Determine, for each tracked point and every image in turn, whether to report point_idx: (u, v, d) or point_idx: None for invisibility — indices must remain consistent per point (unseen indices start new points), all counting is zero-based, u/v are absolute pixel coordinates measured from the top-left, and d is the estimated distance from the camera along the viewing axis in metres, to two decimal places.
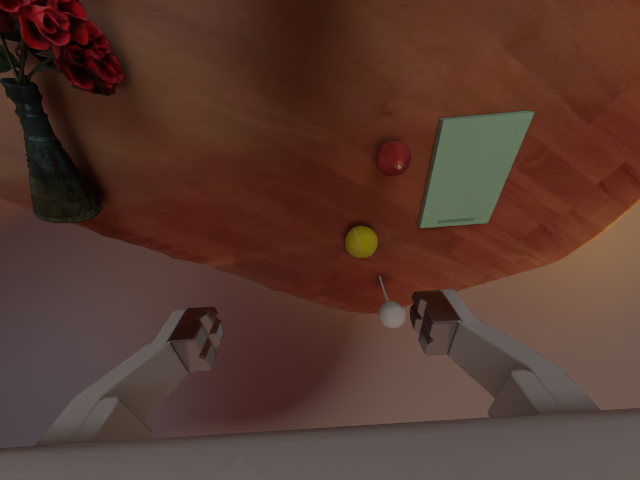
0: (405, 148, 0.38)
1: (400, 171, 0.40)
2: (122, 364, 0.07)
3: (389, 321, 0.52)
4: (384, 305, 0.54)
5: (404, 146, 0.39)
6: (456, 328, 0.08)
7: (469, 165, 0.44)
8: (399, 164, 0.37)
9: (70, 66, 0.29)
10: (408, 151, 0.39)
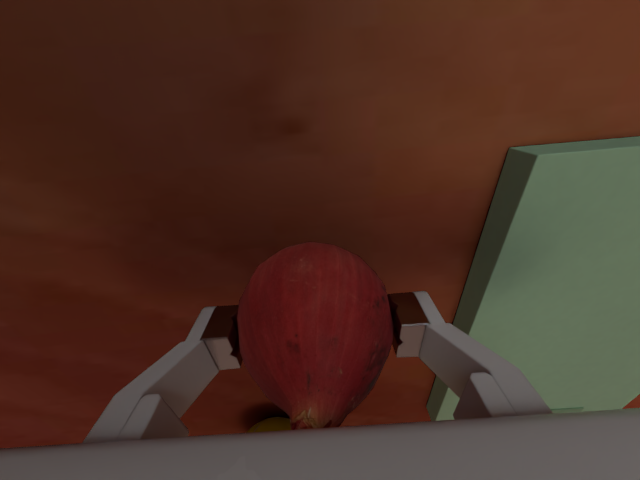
0: (352, 310, 0.07)
1: None
2: (158, 361, 0.07)
3: None
4: None
5: (350, 294, 0.07)
6: (424, 330, 0.08)
7: (605, 304, 0.13)
8: None
9: None
10: (374, 317, 0.07)
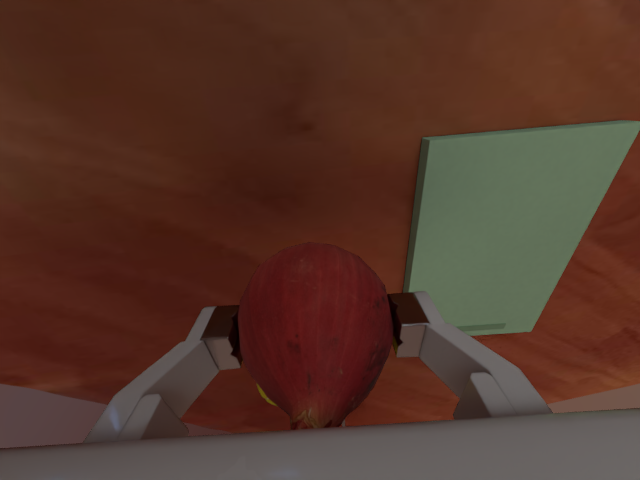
0: (352, 310, 0.07)
1: None
2: (159, 361, 0.07)
3: None
4: None
5: (350, 294, 0.07)
6: (424, 330, 0.08)
7: (493, 233, 0.21)
8: None
9: None
10: (374, 317, 0.07)
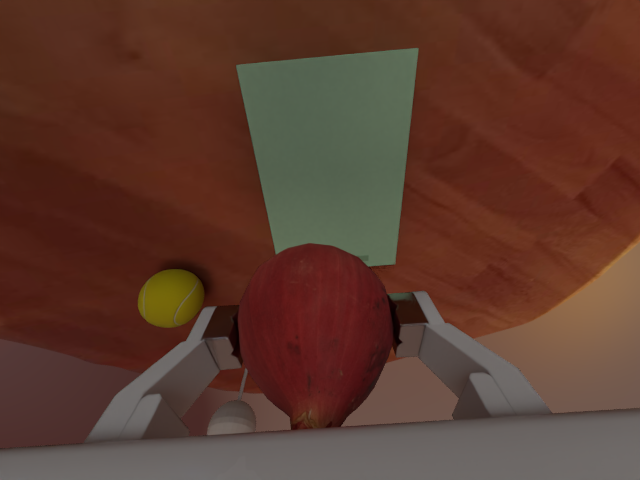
0: (352, 311, 0.07)
1: None
2: (159, 362, 0.07)
3: None
4: (217, 412, 0.30)
5: (350, 295, 0.07)
6: (424, 330, 0.08)
7: (325, 161, 0.24)
8: None
9: None
10: (374, 318, 0.07)
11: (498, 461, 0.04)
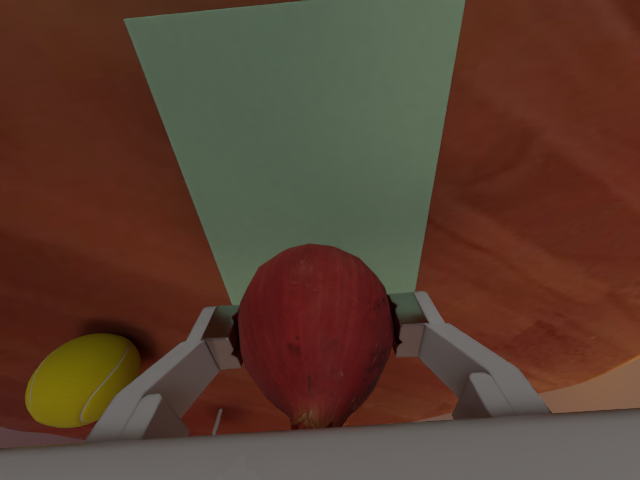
0: (352, 312, 0.07)
1: None
2: (159, 361, 0.07)
3: None
4: None
5: (351, 296, 0.07)
6: (424, 330, 0.08)
7: (300, 188, 0.14)
8: None
9: None
10: (374, 319, 0.07)
11: (498, 461, 0.04)
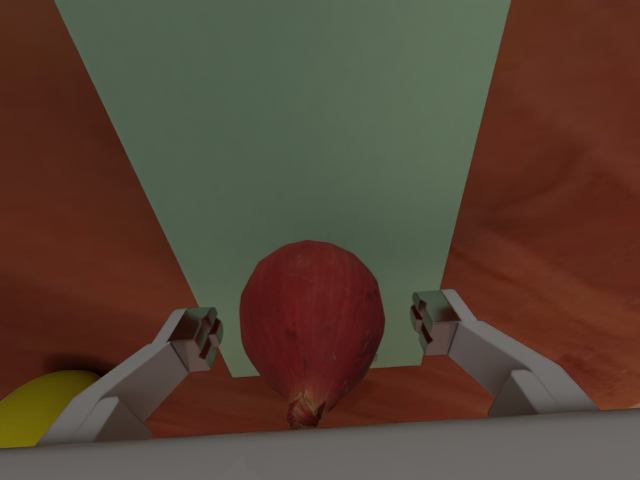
0: (345, 302, 0.07)
1: None
2: (122, 364, 0.07)
3: None
4: None
5: (344, 287, 0.08)
6: (456, 328, 0.08)
7: (295, 215, 0.12)
8: (303, 419, 0.06)
9: None
10: (366, 308, 0.08)
11: (498, 461, 0.04)
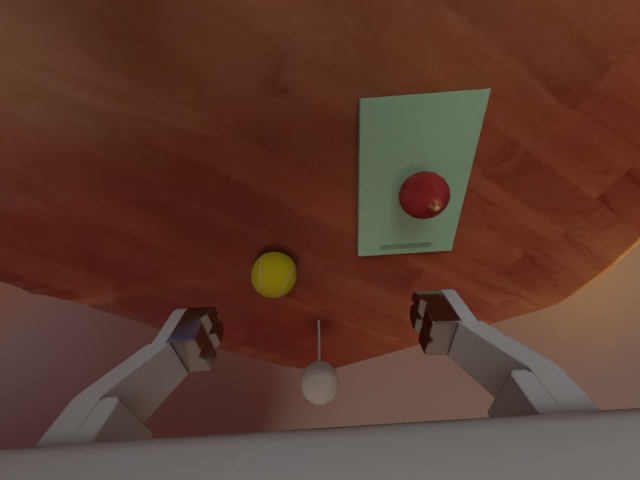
0: (443, 182, 0.27)
1: (436, 214, 0.28)
2: (122, 364, 0.07)
3: (311, 396, 0.34)
4: (308, 368, 0.37)
5: (441, 179, 0.27)
6: (456, 328, 0.08)
7: (410, 167, 0.31)
8: (437, 204, 0.26)
9: None
10: (447, 186, 0.27)
11: (498, 461, 0.04)
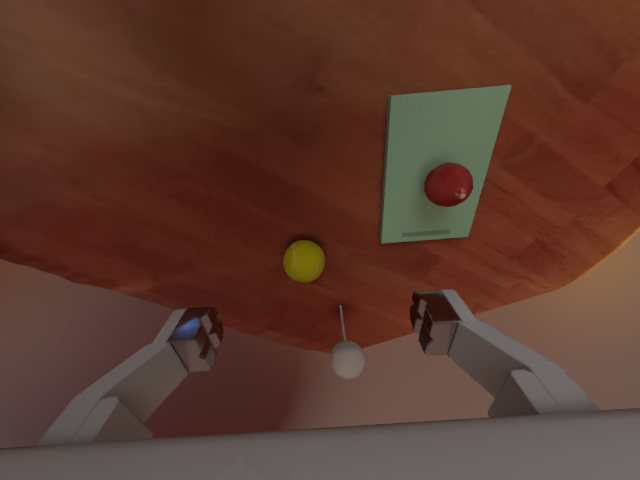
0: (467, 172, 0.29)
1: (461, 201, 0.30)
2: (122, 364, 0.07)
3: (341, 370, 0.38)
4: (336, 346, 0.40)
5: (466, 169, 0.30)
6: (456, 328, 0.08)
7: (434, 159, 0.34)
8: (463, 192, 0.28)
9: None
10: (471, 176, 0.30)
11: (498, 461, 0.04)
